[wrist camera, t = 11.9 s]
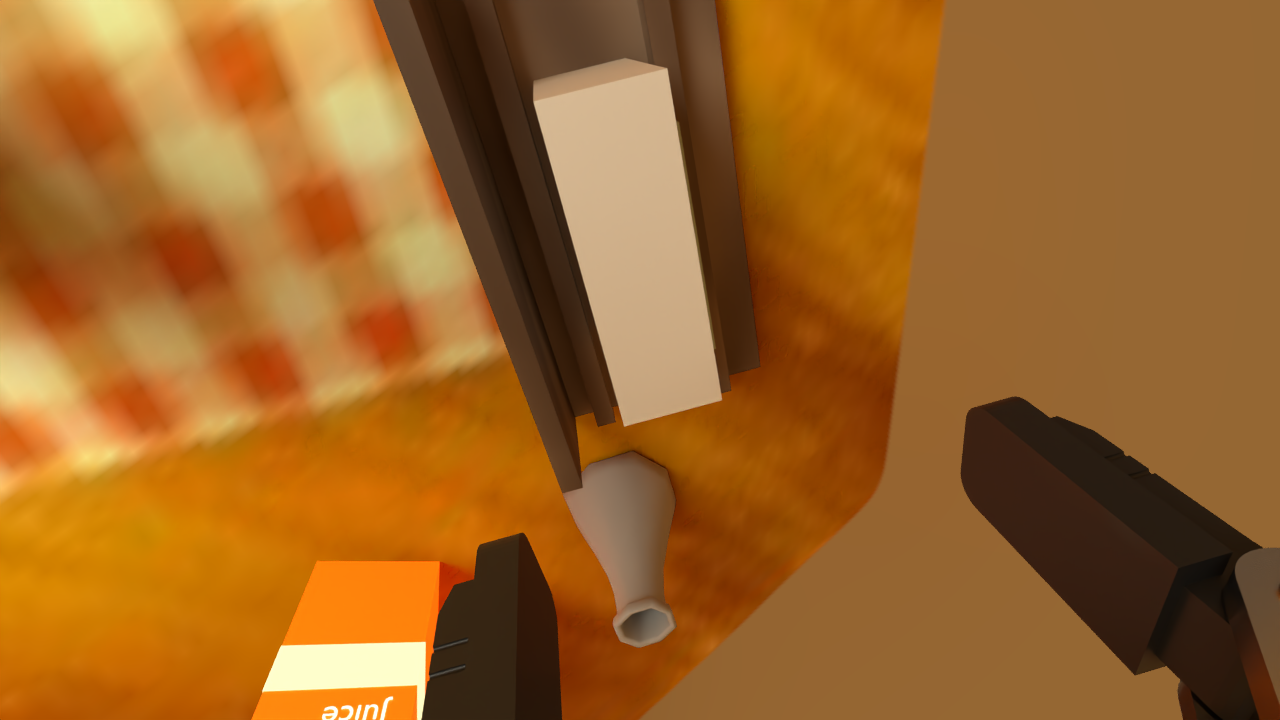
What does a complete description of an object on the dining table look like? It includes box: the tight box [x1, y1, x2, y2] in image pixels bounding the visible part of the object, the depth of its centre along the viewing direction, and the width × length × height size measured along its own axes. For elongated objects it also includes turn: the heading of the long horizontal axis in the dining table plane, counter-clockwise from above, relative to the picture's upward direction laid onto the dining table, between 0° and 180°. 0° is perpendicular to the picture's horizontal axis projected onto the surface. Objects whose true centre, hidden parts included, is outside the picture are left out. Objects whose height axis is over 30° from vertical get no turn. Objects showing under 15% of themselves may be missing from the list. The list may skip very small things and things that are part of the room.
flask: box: [563, 451, 677, 648], centre depth 34 cm, size 7×7×10 cm
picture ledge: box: [373, 0, 760, 493], centre depth 26 cm, size 12×22×8 cm, turn 12°
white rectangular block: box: [533, 58, 722, 426], centre depth 24 cm, size 12×4×9 cm, turn 12°
